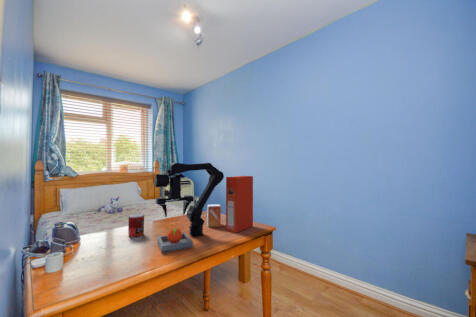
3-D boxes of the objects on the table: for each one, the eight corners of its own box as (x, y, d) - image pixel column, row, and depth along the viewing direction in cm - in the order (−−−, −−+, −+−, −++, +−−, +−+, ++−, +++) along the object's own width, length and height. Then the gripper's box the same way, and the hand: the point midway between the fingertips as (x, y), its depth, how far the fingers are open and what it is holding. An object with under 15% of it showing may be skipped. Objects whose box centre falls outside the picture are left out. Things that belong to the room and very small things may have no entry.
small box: (207, 227, 133) (208, 206, 133) (207, 224, 139) (207, 204, 139) (220, 226, 134) (221, 205, 135) (219, 223, 141) (219, 204, 141)
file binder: (225, 230, 126) (226, 176, 127) (242, 224, 140) (243, 175, 141) (236, 233, 121) (236, 177, 122) (252, 226, 135) (253, 176, 136)
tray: (185, 238, 113) (185, 232, 113) (192, 247, 101) (192, 241, 101) (157, 242, 107) (157, 236, 107) (161, 253, 94) (161, 246, 94)
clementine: (181, 245, 100) (181, 230, 101) (166, 246, 99) (166, 231, 99) (182, 240, 108) (182, 225, 108) (167, 240, 107) (168, 226, 107)
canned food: (137, 237, 113) (138, 217, 113) (124, 236, 114) (125, 216, 115) (146, 233, 120) (147, 213, 121) (134, 232, 122) (134, 212, 122)
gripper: (188, 184, 125) (187, 210, 124) (154, 185, 115) (153, 214, 115) (194, 186, 115) (193, 215, 115) (157, 188, 106) (157, 219, 105)
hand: (175, 215), depth 113 cm, fingers open, 9 cm apart
